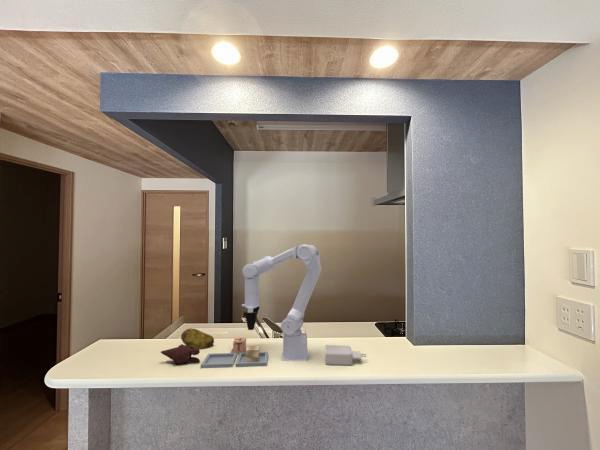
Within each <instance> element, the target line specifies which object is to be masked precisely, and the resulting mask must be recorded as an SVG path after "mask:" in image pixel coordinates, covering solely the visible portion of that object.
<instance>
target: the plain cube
mask: <svg viewBox="0 0 600 450" xmlns="http://www.w3.org/2000/svg"><path fill="white" fill-rule="evenodd" d="M246 348H247V349H246V362H258V361H259V352H260V345H246Z"/></svg>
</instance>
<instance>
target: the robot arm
mask: <svg viewBox="0 0 600 450" xmlns="http://www.w3.org/2000/svg"><path fill="white" fill-rule="evenodd" d="M320 256H321V253H320V251H319V250H318V248H317V247H316V246H315V245H313V244H304V243H303V244H300V245H298V246H294V247H292V248H290V249H287V250H285V251H283V252H281V253H279V254H277V255H275V256H270V255H268V256H267V255H264V256H262V258H261V259H259V260H254V261H252V263H247V264H245V265H244V266H242V267H243V268H242V270H241V271H242V272H241V273H242V275H243V277H244V303H242V304H241V307H244V308H245V310H246V311H243V312H242V313H243V316H244V319H245V321H246V324H247V325H246V326H247V330H248V331H255V330H254V329H255V326H256V323H257V318H258V313H259V311H260V281H259V280H260V279H259V278H260V276H261V275H262V274H265V273H268V272H270V271H272V270H275V268H276V266H277V265H279V264H281V263H284V262H286V261H289V260H292V259H298V260H299V261H300V262H302V264H303V265H304V266H305V269H306V274H305V275H304V278H303V280H302V283H301V285H300V288H299V290H298V293H297V294H296V297H295V300H294V303H293V304H292V307H291V309H290V310H289V312H288V314H287V315H286V318H284V319H283V320H282V322H281V324H280V330H281V331H282V336H283V337H282V352H281V360H282V362H283V361H284V362H285V361H287V362H288V361H308V353H309V352H308V350H309V349H308V334H307V333H304V332H302V329H301V328H302V327H303V325H304V317H305V311H306V309H307V306H308V303H309V301H310V299H311V296H312V294H313V291H314V289H315V287H316V285H317V282H318V279H319V277H320V275H321V272H322V264H321V257H320Z"/></svg>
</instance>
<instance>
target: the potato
mask: <svg viewBox="0 0 600 450" xmlns="http://www.w3.org/2000/svg"><path fill="white" fill-rule="evenodd" d="M180 338H181V339H180V340H181V341H182V342H183V343H182V344H183V345H185V346H188V347H189V348H192V349H195V348H196V349H199V350H202V349H203V350H204V349H208V348H210V347H212V346H213V345H214V343H215V339H214V337H213V336H212V335H210V334H208V333H205V332H204V331H201V330H199V329H197V328H187V329H185V330H184V331H183V332H182V333H181V335H180Z"/></svg>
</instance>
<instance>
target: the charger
mask: <svg viewBox="0 0 600 450" xmlns="http://www.w3.org/2000/svg"><path fill="white" fill-rule="evenodd" d="M366 354H367V353H361V351H359V350H356V351H355V350H352V347H351V346H349V345H345V344H344V345H338V344H325V358H324V359H325V365H326V366H351V365H353V363H354V362H353V361H356V360H357V361H359V360H360V361H361V360H362V357H364V358H367V355H366Z"/></svg>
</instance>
